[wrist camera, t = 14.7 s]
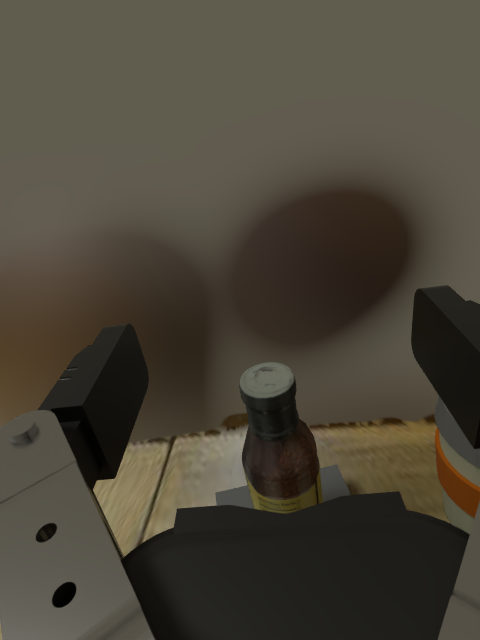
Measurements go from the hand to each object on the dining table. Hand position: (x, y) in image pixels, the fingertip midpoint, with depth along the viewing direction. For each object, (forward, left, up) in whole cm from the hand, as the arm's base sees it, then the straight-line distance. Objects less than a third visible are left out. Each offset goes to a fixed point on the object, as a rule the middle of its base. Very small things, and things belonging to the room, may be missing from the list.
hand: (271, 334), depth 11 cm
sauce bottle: (-2, -13, -31) cm, 34 cm away
